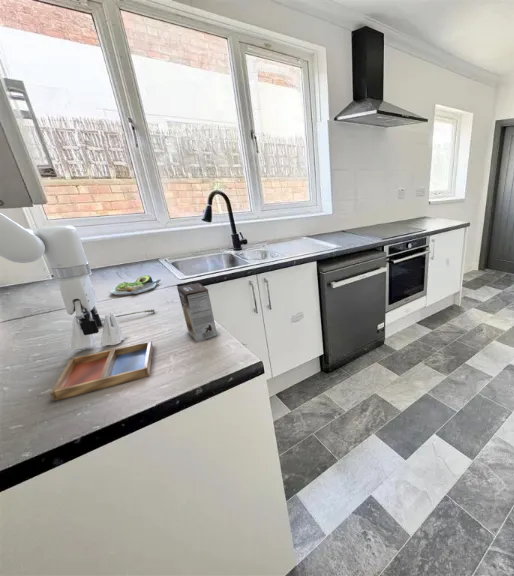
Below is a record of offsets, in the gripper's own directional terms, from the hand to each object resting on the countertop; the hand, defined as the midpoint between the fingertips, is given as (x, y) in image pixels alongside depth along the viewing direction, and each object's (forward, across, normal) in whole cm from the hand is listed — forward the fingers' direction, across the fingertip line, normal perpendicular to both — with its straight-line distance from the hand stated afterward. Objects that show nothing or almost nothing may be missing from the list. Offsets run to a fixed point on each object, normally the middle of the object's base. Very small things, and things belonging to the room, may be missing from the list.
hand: (93, 329), depth 91 cm
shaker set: (+6, 0, 0) cm, 6 cm away
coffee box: (+6, +8, +27) cm, 29 cm away
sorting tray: (+6, +18, +5) cm, 20 cm away
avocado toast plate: (+6, -59, +4) cm, 59 cm away
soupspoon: (+6, -20, +2) cm, 21 cm away
